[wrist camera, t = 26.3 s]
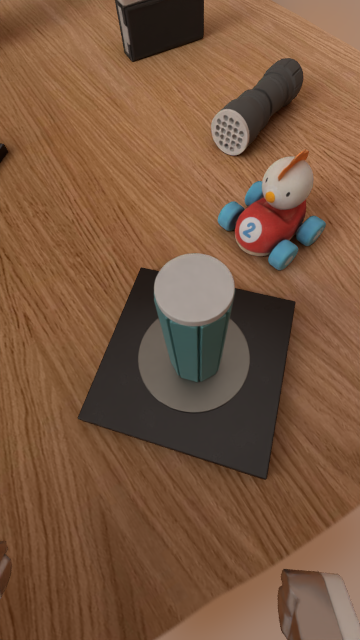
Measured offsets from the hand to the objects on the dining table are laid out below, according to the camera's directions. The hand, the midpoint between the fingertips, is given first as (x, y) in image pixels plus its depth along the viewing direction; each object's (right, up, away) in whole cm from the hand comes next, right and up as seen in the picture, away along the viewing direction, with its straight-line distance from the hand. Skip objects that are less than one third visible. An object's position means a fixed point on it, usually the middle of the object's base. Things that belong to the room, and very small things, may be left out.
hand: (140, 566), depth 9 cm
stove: (+2, +3, +20) cm, 21 cm away
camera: (-2, +57, +47) cm, 74 cm away
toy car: (+11, +17, +27) cm, 33 cm away
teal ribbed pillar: (+3, +4, +19) cm, 19 cm away
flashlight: (+12, +35, +35) cm, 51 cm away
